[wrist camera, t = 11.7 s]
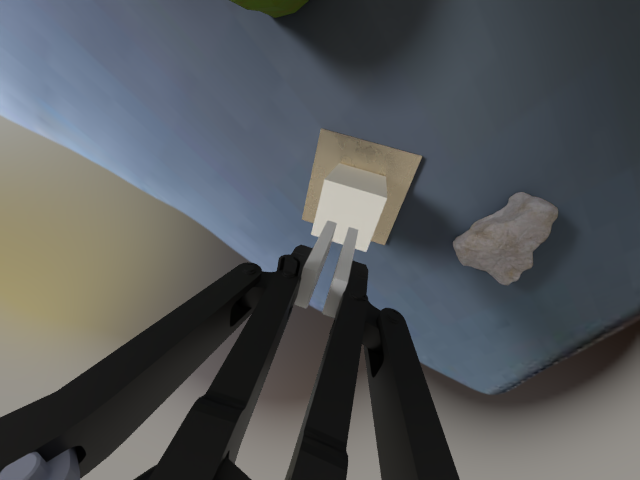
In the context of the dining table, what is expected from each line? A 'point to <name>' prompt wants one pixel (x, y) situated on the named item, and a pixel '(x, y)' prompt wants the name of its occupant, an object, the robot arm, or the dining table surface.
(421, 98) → the dining table surface
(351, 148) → the square base with post
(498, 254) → the stone
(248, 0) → the green apple
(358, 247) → the cream cuboid
